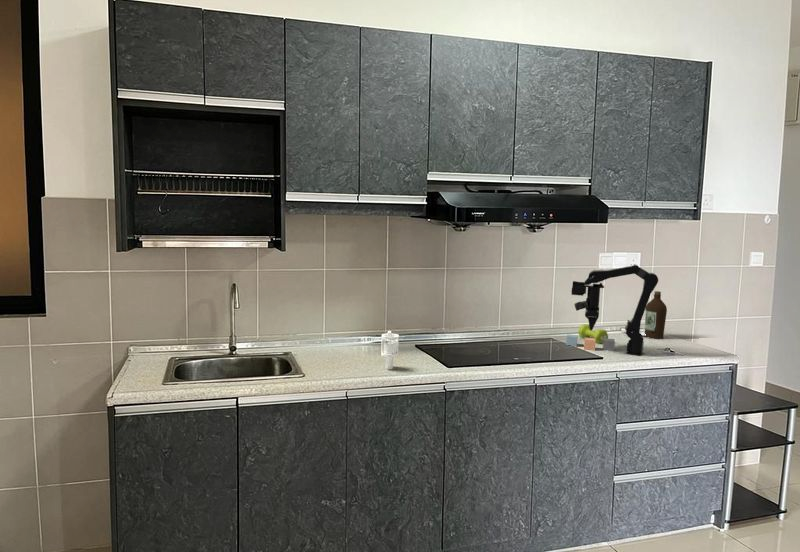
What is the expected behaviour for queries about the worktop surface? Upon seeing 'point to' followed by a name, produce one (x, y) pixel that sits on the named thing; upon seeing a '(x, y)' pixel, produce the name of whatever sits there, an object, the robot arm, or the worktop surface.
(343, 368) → the worktop surface
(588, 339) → the terracotta block
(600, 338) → the dumbbell
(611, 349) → the charcoal block
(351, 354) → the worktop surface
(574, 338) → the slate block
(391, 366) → the clear stepped cylinder
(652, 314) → the olive oil
